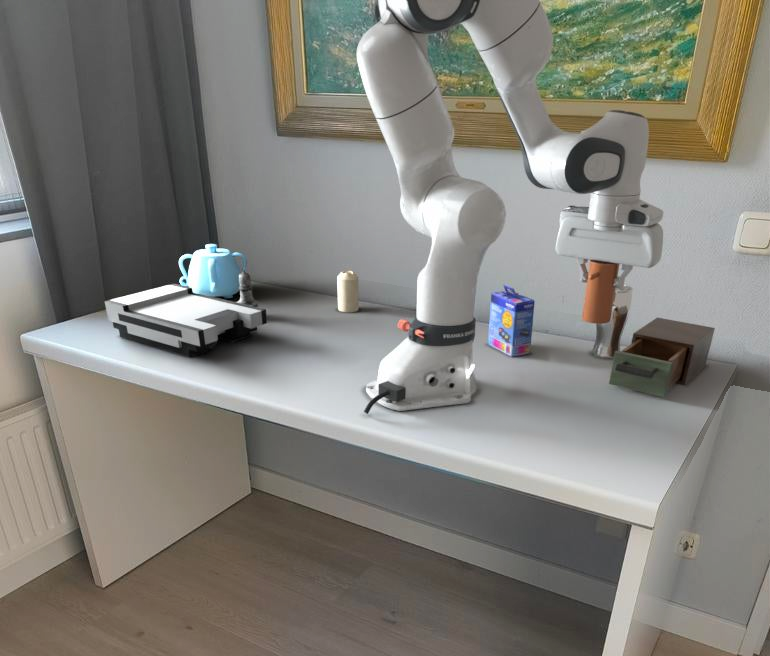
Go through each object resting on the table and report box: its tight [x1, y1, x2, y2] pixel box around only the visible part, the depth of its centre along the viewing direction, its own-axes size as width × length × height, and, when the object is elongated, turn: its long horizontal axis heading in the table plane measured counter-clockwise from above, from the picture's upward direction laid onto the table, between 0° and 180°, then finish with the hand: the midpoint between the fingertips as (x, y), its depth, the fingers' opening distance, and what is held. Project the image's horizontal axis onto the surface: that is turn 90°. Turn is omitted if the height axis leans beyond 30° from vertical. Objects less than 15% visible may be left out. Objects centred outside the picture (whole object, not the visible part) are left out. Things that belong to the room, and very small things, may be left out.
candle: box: [336, 269, 360, 313], centre depth 189 cm, size 6×6×10 cm
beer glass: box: [591, 284, 634, 360], centre depth 158 cm, size 7×7×15 cm
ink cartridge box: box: [487, 284, 536, 358], centre depth 161 cm, size 10×6×14 cm, turn 28°
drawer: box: [608, 338, 690, 398], centre depth 142 cm, size 18×11×7 cm, turn 143°
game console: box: [104, 283, 268, 358], centre depth 169 cm, size 21×32×8 cm, turn 54°
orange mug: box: [581, 260, 620, 325], centre depth 140 cm, size 9×6×12 cm, turn 143°
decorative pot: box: [178, 243, 248, 299], centre depth 200 cm, size 16×16×14 cm
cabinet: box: [630, 317, 716, 386], centre depth 152 cm, size 14×12×8 cm
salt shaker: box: [235, 269, 259, 308], centre depth 182 cm, size 6×6×12 cm
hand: (601, 284), depth 141 cm, fingers closed on orange mug, 5 cm apart
